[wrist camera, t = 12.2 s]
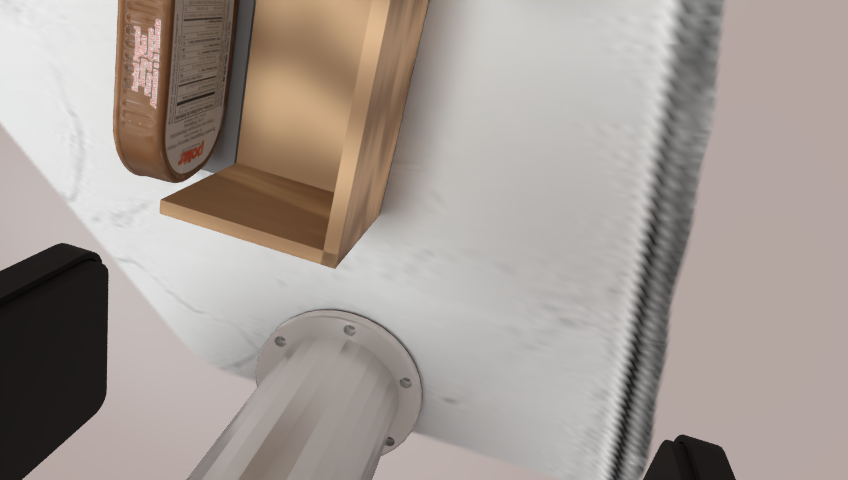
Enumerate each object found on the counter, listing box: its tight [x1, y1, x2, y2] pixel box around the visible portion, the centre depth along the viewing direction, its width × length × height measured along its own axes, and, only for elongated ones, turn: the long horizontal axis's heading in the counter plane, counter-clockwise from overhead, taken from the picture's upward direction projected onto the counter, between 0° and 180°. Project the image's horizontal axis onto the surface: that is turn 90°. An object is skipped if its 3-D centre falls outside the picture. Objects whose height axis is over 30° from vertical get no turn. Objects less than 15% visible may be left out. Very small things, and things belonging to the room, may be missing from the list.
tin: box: [113, 0, 238, 183], centre depth 33 cm, size 15×3×8 cm, turn 166°
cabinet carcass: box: [160, 0, 429, 269], centre depth 32 cm, size 16×10×10 cm, turn 166°
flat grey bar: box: [202, 0, 256, 173], centre depth 37 cm, size 17×4×1 cm, turn 166°
